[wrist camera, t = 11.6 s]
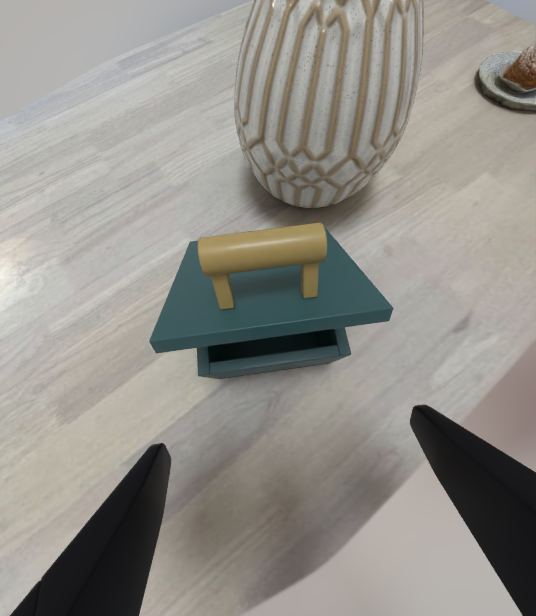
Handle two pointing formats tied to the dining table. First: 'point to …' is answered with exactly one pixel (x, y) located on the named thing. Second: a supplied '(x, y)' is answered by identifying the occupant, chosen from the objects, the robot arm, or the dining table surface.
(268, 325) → the box lid
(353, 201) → the dining table surface
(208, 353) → the teal open box
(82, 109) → the dining table surface
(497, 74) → the pastry
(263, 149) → the vase
